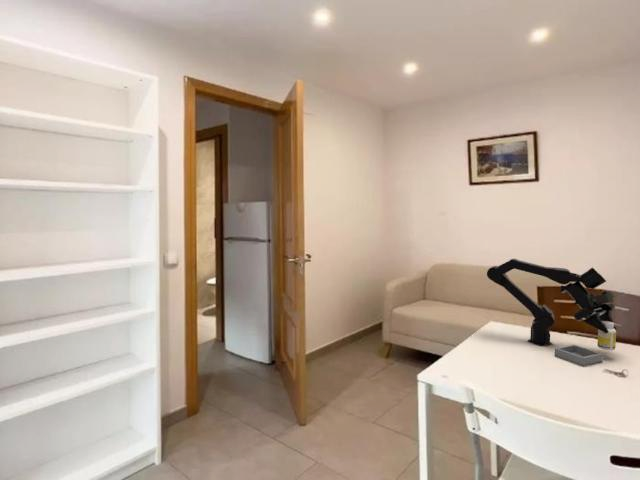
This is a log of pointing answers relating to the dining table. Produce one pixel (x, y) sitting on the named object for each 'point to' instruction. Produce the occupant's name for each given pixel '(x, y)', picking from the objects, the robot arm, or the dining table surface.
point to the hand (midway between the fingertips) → (611, 331)
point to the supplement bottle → (607, 337)
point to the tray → (578, 355)
